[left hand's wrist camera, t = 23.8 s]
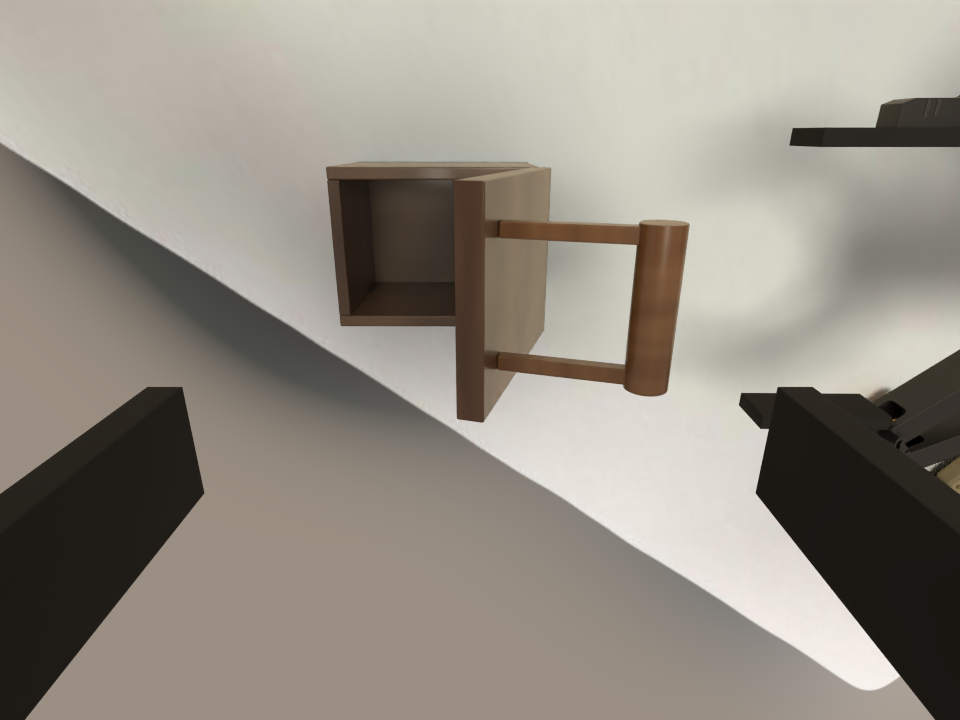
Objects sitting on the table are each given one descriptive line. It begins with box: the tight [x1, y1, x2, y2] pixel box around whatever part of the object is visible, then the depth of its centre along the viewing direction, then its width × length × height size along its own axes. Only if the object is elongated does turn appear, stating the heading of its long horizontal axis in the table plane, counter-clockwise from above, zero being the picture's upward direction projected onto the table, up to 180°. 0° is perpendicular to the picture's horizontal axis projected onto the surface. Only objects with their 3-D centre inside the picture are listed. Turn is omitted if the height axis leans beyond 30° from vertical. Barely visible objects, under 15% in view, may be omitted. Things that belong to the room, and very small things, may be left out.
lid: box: [453, 167, 689, 422], centre depth 27 cm, size 14×10×9 cm
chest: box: [326, 162, 539, 326], centre depth 40 cm, size 13×10×10 cm
